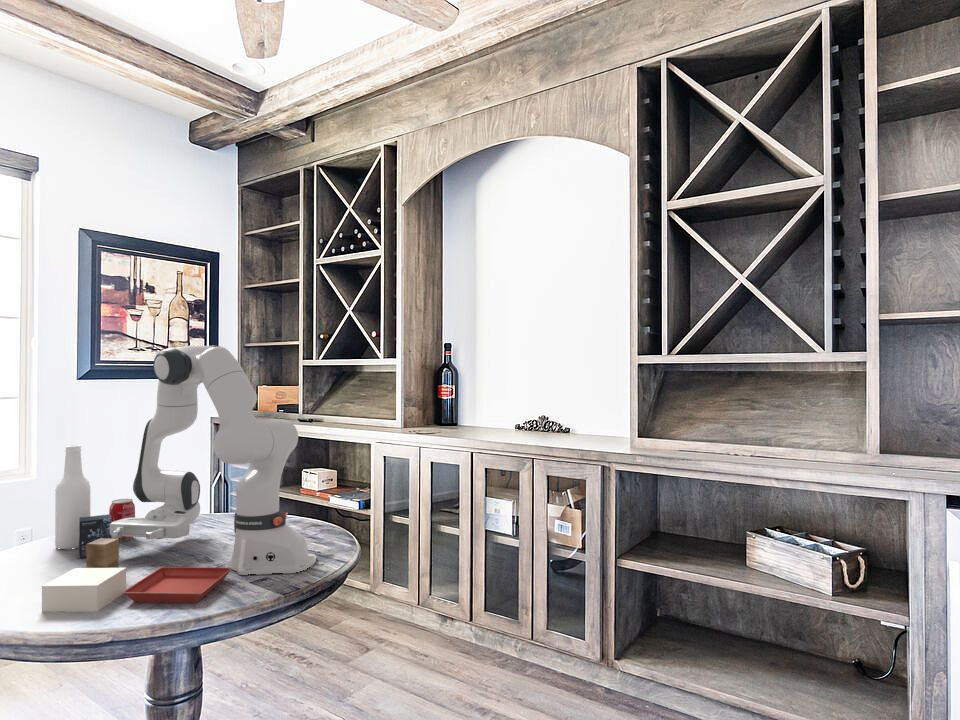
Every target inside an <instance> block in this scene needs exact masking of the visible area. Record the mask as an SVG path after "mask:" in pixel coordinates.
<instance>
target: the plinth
mask: <svg viewBox="0 0 960 720" xmlns="http://www.w3.org/2000/svg"><path fill="white" fill-rule="evenodd" d="M126 589H127V567H119V568H87V567H77V568H76V567H75V568H72V569H70V570H69V571H67V572H65V573H63V574H61V575H60V576H58V577H56V578H54V579H52V580H50V581H49V582H47V583H45V584H43V585H41V612H42V611H65V612H64V613H67V612H68V613H69V612H71V613H72V612H73V613H75V612H76V613H77V612H82V613H83V612H87V613H88V612H99V611H100V610H102V609H104V607H105V606H106V607H107V605H108V604H110V603H112V602H113V601H115V600H116V599H117V598H119V597H120V596H122V595H123V594H124V593H123V592H124V591H125V590H126Z"/></svg>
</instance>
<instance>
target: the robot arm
mask: <svg viewBox="0 0 960 720" xmlns="http://www.w3.org/2000/svg"><path fill="white" fill-rule="evenodd" d="M152 366H153V368H152V369H153V372H154V374H155V377H156V378H157V380H158V385H157V391H156V410H155V413H154V415H153V417H152V418H150V419H149V420H148V421H147V423H146V424H145V426H144V427H145V428H144V431H143V436H142V442H141V448H140V453H139V460H138V465H137V470H136V473H135V478H134V481H133V484H132V490H133V494H134V495H135V497H136V498H137V499H138V500H139V501H140V502H142V503H164V504H163V505H160V506H159V507H156V508H153V509H151V510H149V511H148V512H147V513H146V515H145V517H135V518H124V519H120V520H117V521H114V522H112V523H110V535H111V536H113V538H119V537H122V536H129V537H132V538H134V537H135V538H136V537H137V538H145V540H154V539H155V540H161V539H180V538H182V537H185V536H186V537H187V536H188V535H189V534H190V527H191V524H193V523H194V522H195V521H196V520H197V518H198V517H199V515H200V513H201V504H200V502H199V499H200V494H201V484H200V482H199V479H198V477H197V476H196V474H195V473H194V472H192V471H186V470H185V471H184V470H167V469H161V468H160V467H159V458H160V452H161V448H162V446H161V445H162V442H163V441H164V439H165V438H166V437H170V436H172V435H175V434H179V433H181V432H183V431H186V430H187V429H189V428H190V427H192V426H193V424H194V423H195V421H197V417H198V410H199V409H198V408H199V407H198V406H199V405H198V402H199V400H198V387H199V385H200V384H203V385H204V388H205V389H206V392H207V393H208V396H209V397H210V400H211V402H212V403H213V406H214V407H215V411H216V413H217V414H218V418H219V419H218V420H219V429H218V431H217V432H216V434H215V436H214V439H213V451H214V453H215V456H216V457H217V459H218V460H219V461H221V462H222V463H225V464H231V465H246V464H249V465H248V467H247V470H246V471H245V473H244V475H243V476H241V478H240V479H239V480H238V482H237V484H236V487H235V492H236V493H235V497H236V500H235V501H236V502H235V504H236V505H235V507H236V508H235V510H236V511H235V513H234V519H233V528H234V529H233V530H234V534H235V535H234V545H233V551H232V555H231V559H230V563H229V568H231V570H232V571H235V572H237V574H238V575H240V576H251V575H250V574H256V575H271V574H272V573H283V574H297V573H296V572H298V573H301V572H300V571H302V572H304V571H306V570H308V569H310V568H311V567H313V565H314V564H315V563H316V562H317V556H316V553H315V554H314V553H309V550H308V544H307V541H306V538H305V537H304V536H303V535H301V534H300V533H298V531H296V530H294V529H293V528H292V527H291V526H289V525H288V524H287V523H286V522H287V518H288V512H285V513H284V512H283V511H281V509H280V487H281V479H282V474H283V471H284V469H285V468H284V467H285V465H286V463H287V461H288V458H289V456H290V455H291V453H292V452H293V451H294V450H295V449H296V447H297V445H298V442H299V432H298V429H297V427H296V425H295V424H293V423H292V422H291V421H289V420H287V419H279V418H269V419H268V418H267V419H257V418H256V417H255V414H254V411H253V409H254V408H255V406H256V404H257V401H258V395H257V393H256V391H255V389H254V387H253V385H252V383H251V381H250V379H249V377H248V376H247V374H246V373H245V371H244V369H243V368H242V366H241V364H240V363H239V361H238V360H237V359H236V358H235V356H234V355H233V354H232V353H231V352H230V351H229V350H228V349H227V348H226V347H223V346H220V345H186V346H185V345H183V346H179V347H169V348H165V349H162V350H160V351H158V352H157V353H156V355H155V358H154V360H153V365H152ZM309 567H310V568H309ZM307 568H308V569H307ZM303 570H304V571H303ZM248 574H249V575H248ZM272 575H273V574H272Z"/></svg>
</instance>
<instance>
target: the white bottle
mask: <svg viewBox="0 0 960 720" xmlns="http://www.w3.org/2000/svg"><path fill="white" fill-rule="evenodd" d="M81 452H82V445H81V444H70V445H66V446H65V459H64V467H63V468H64V469H63V470H64V471H63V475H62V478H61V479H59V481H58V483H57V484H56V485H55V486H56V487H55V494H54V495H55V497H54V498H55V505H54V507H55V510H54V512H55V513H54V514H55V517H54V518H55V520H54V521H55V522H54V524H55V525H54V526H55V528H54V529H55V533H54V534H55V540H54V541H55V542H54V543H55V547H56V549H57V548H60V549H72V548H78V549H79V518H80V517H90V516H91V484H90V481H89V480H88V478H87V477H86V476H84V472H83V464H82V453H81ZM72 550H73V549H72Z"/></svg>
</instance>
